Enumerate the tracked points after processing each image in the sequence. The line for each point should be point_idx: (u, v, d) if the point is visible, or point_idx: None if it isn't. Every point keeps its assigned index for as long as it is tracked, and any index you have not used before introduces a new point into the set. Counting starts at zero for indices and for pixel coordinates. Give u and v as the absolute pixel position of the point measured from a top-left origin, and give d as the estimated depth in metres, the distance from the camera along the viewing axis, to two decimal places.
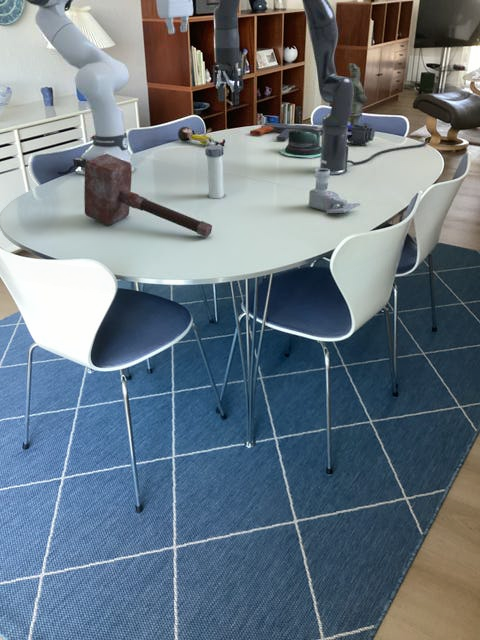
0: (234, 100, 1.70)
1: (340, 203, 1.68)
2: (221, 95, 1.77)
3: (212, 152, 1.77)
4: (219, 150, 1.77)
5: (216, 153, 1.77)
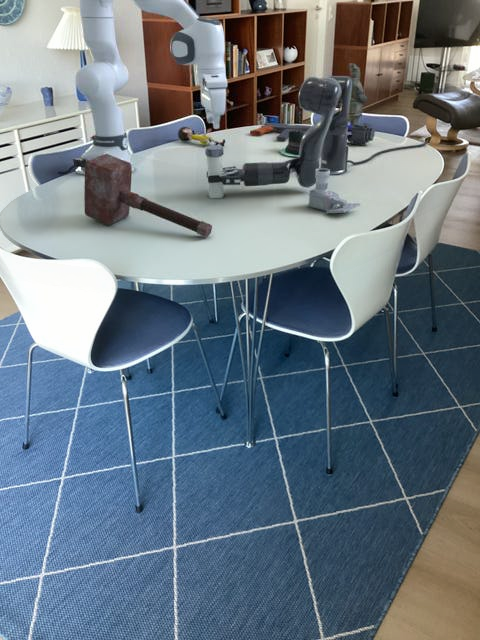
0: None
1: (340, 203, 1.68)
2: None
3: (212, 152, 1.77)
4: (219, 150, 1.77)
5: (216, 153, 1.77)
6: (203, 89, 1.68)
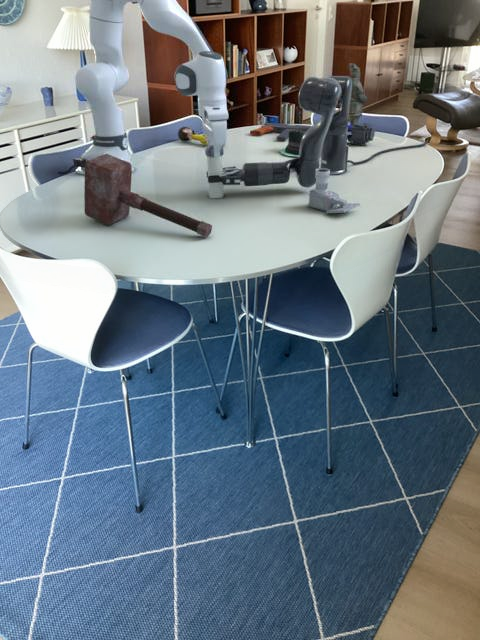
0: None
1: (340, 203, 1.68)
2: None
3: (212, 152, 1.77)
4: None
5: None
6: (205, 120, 1.73)
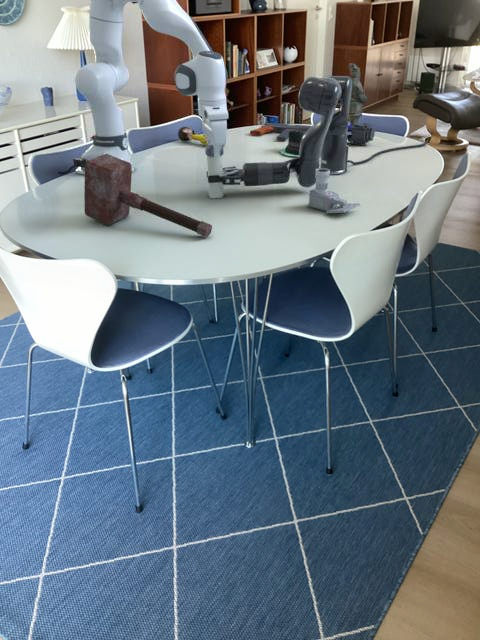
0: None
1: (340, 203, 1.68)
2: None
3: (221, 151, 1.78)
4: (222, 147, 1.80)
5: None
6: (205, 120, 1.73)
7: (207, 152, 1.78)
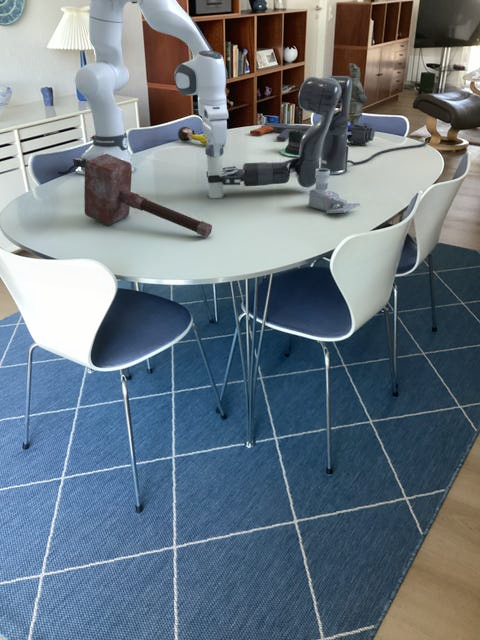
0: None
1: (340, 203, 1.68)
2: None
3: None
4: None
5: None
6: (205, 119, 1.73)
7: None
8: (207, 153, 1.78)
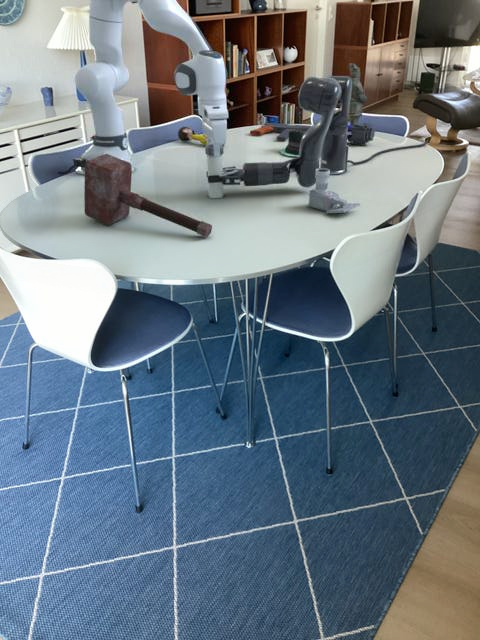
0: None
1: (340, 203, 1.68)
2: None
3: None
4: None
5: None
6: (205, 119, 1.73)
7: (222, 150, 1.79)
8: None
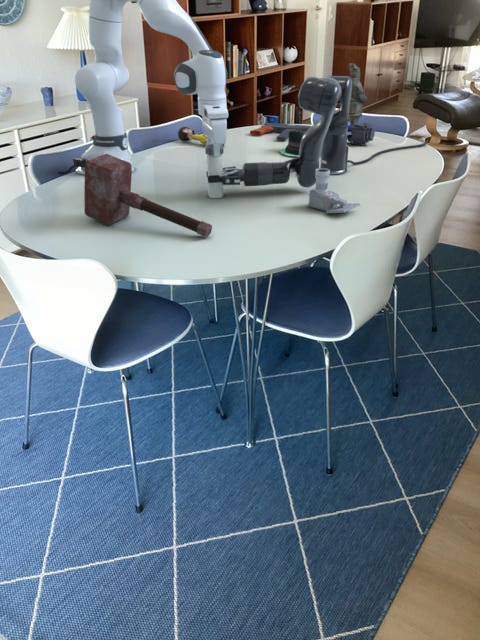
0: None
1: (340, 203, 1.68)
2: None
3: None
4: (206, 148, 1.78)
5: (205, 150, 1.79)
6: (205, 119, 1.73)
7: None
8: (222, 151, 1.79)
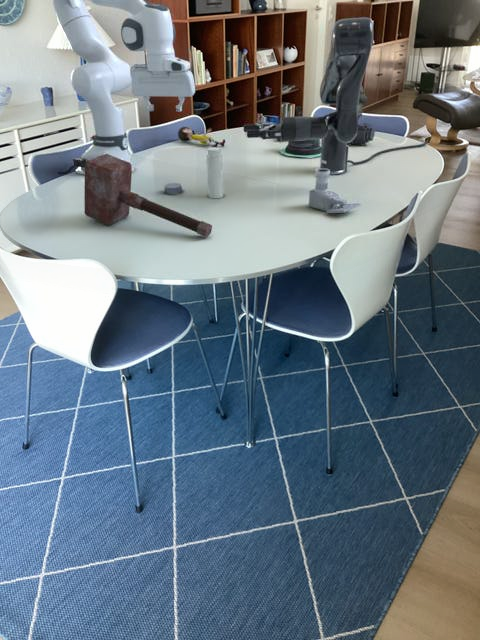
0: None
1: (340, 203, 1.68)
2: None
3: (174, 190, 1.89)
4: (180, 187, 1.90)
5: (178, 190, 1.89)
6: (163, 75, 1.70)
7: (165, 189, 1.91)
8: None
